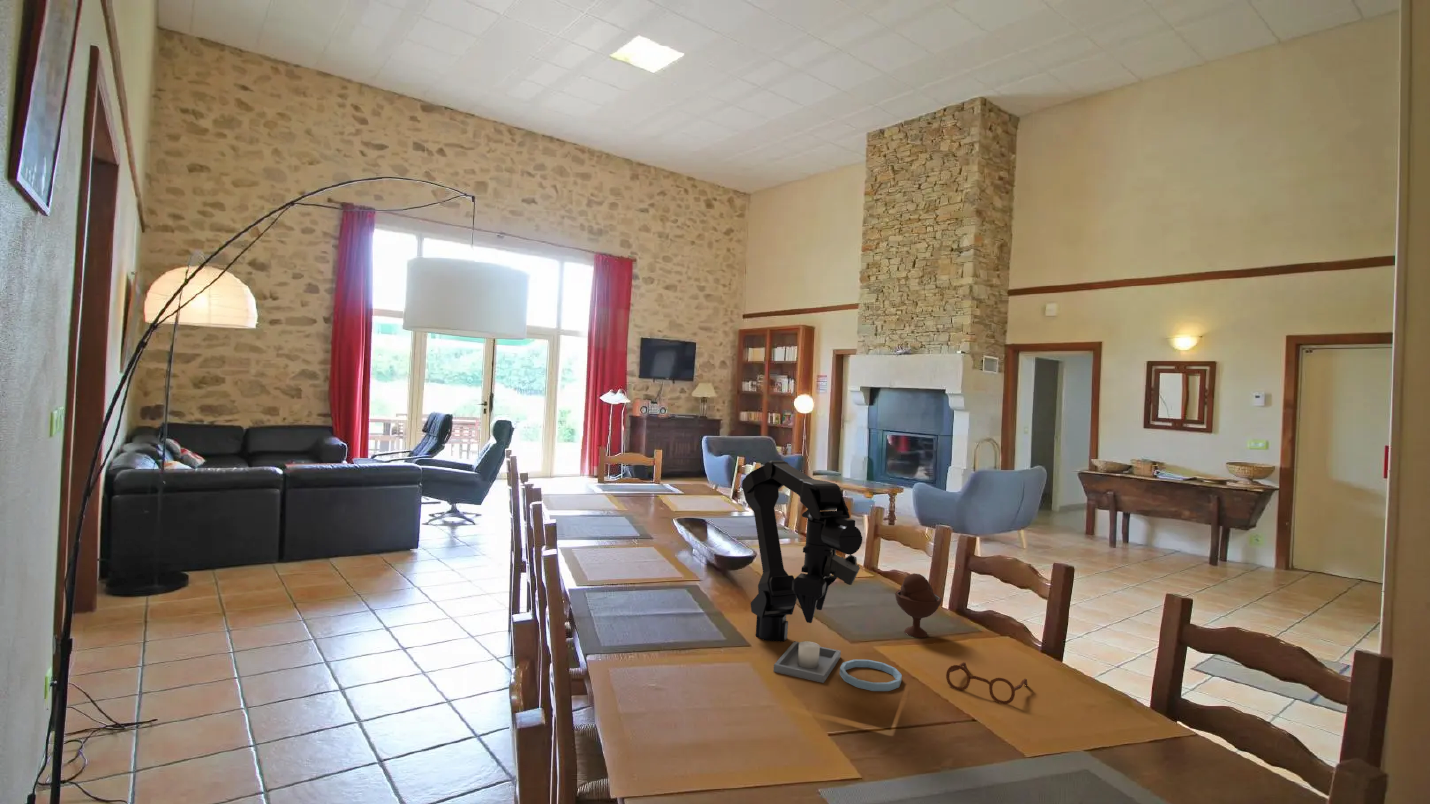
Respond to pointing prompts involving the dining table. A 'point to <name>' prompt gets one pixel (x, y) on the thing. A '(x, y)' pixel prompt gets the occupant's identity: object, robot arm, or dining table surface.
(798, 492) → the robot arm
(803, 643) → the white marshmallow
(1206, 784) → the dining table surface
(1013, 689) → the glasses
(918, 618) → the ice cream bowl
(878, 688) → the blue ring
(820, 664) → the parts tray
